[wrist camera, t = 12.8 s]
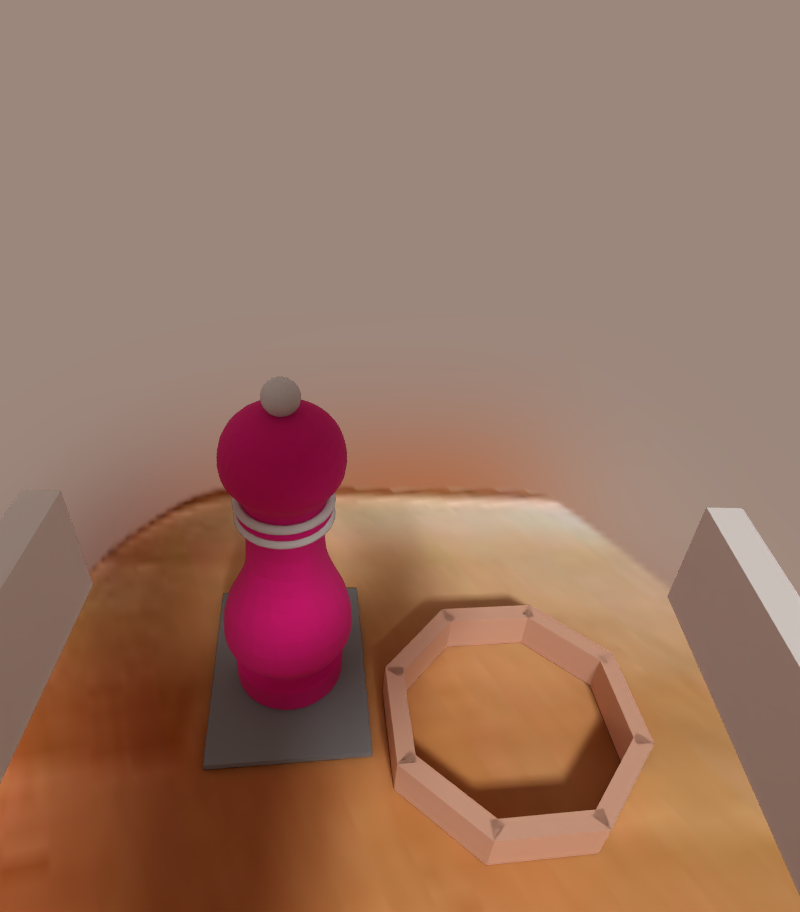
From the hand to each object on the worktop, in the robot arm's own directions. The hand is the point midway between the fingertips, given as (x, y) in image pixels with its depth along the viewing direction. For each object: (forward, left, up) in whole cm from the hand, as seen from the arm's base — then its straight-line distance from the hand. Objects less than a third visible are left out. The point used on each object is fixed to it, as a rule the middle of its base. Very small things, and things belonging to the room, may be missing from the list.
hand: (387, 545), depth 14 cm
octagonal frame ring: (-10, -10, -25) cm, 29 cm away
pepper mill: (+3, -15, -25) cm, 29 cm away
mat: (+3, -15, -25) cm, 30 cm away
